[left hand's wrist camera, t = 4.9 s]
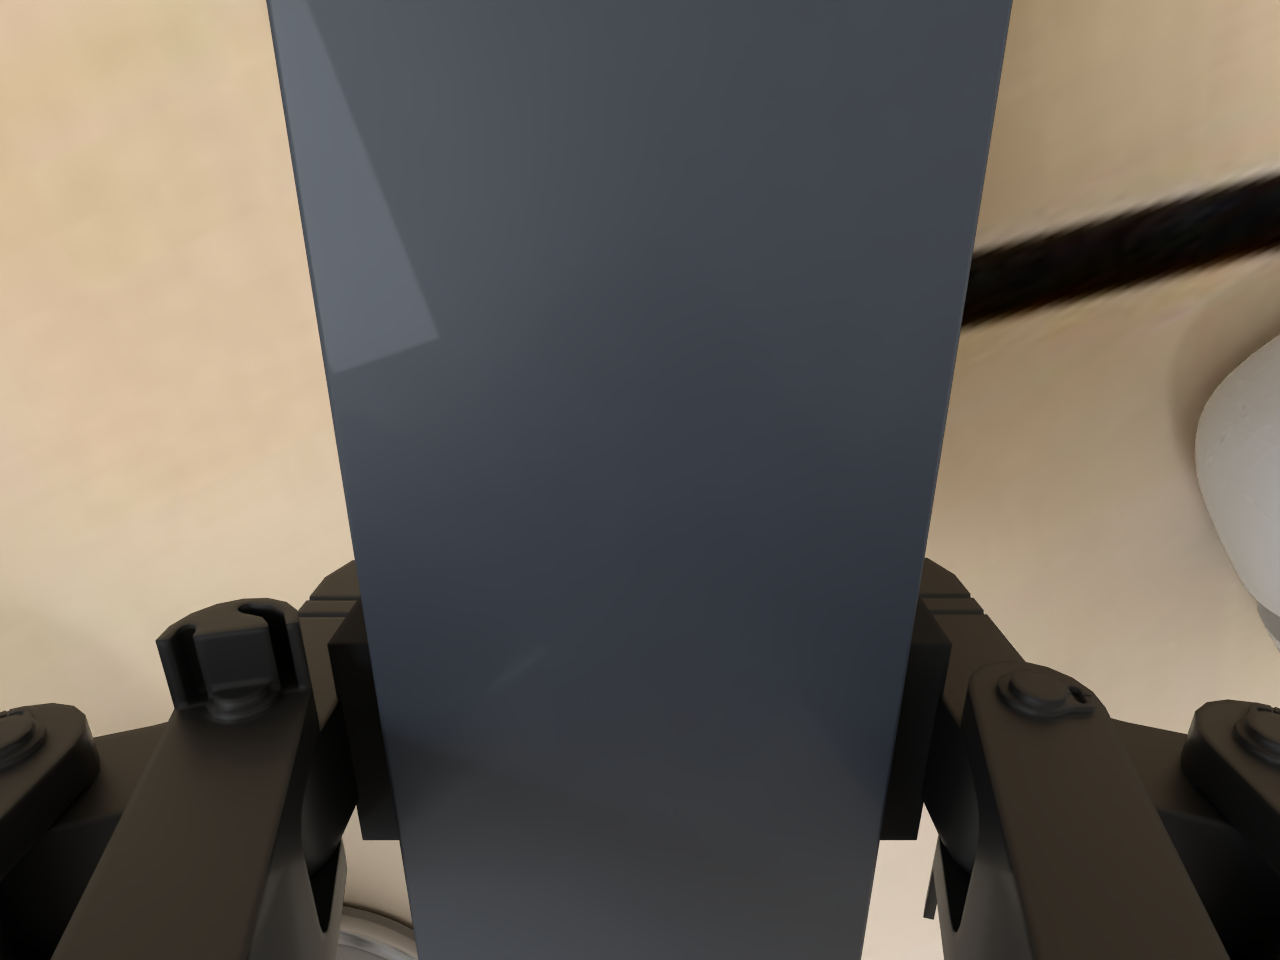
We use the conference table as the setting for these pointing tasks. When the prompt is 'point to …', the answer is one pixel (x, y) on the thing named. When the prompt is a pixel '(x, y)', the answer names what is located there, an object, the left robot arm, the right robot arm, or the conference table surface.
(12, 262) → the conference table surface
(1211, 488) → the projector
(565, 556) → the bar
